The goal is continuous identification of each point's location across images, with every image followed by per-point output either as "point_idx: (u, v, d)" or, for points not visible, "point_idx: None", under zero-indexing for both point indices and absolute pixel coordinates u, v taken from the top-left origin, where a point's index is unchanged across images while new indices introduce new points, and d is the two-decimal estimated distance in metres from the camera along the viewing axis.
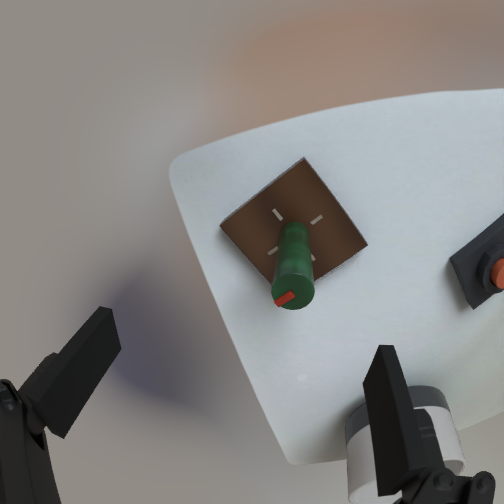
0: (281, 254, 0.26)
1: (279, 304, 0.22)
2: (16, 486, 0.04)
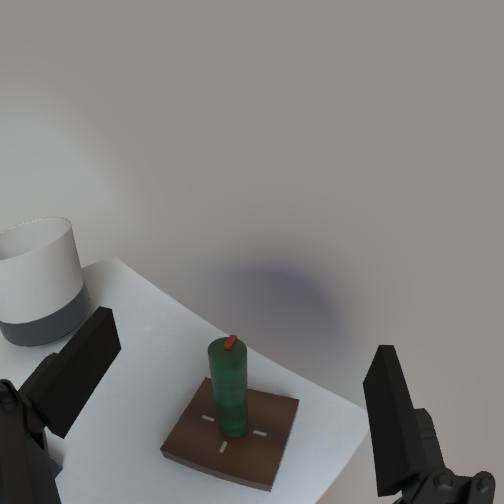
0: (246, 385, 0.25)
1: (231, 336, 0.25)
2: (16, 486, 0.04)
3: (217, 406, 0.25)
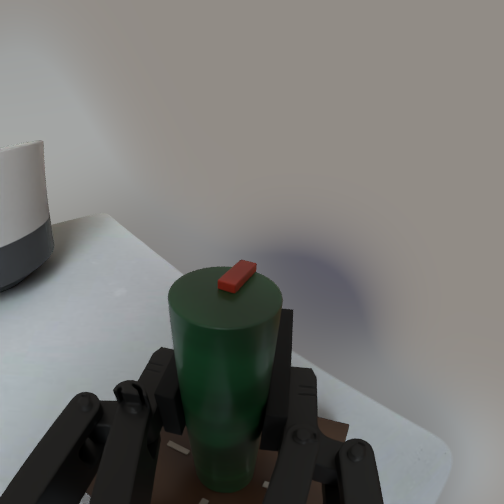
0: (266, 400, 0.10)
1: (242, 263, 0.09)
2: (109, 497, 0.05)
3: (190, 438, 0.10)
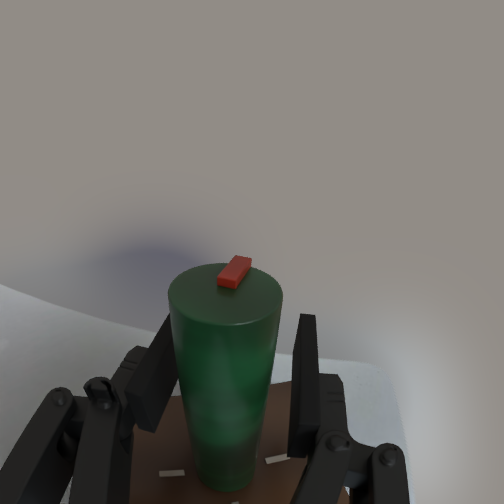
0: None
1: (237, 258, 0.09)
2: (87, 492, 0.05)
3: (193, 440, 0.10)
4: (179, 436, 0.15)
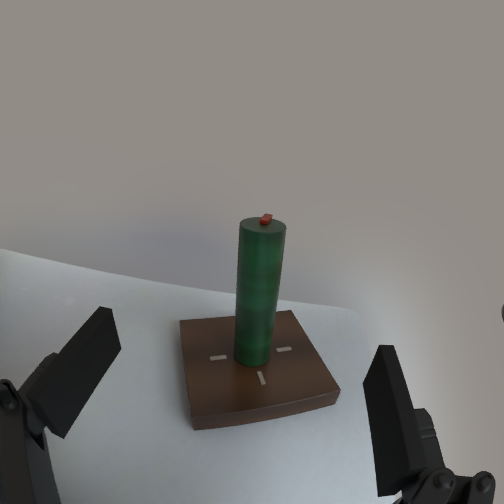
0: (279, 280, 0.22)
1: (266, 214, 0.22)
2: (16, 486, 0.04)
3: (240, 313, 0.22)
4: (221, 338, 0.27)
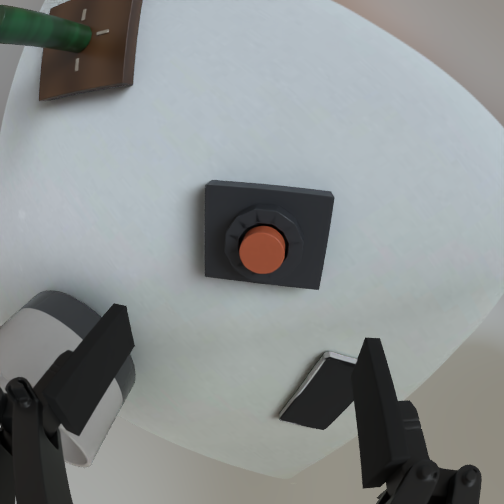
0: (36, 11, 0.13)
1: None
2: (28, 486, 0.05)
3: (50, 42, 0.16)
4: (60, 63, 0.22)
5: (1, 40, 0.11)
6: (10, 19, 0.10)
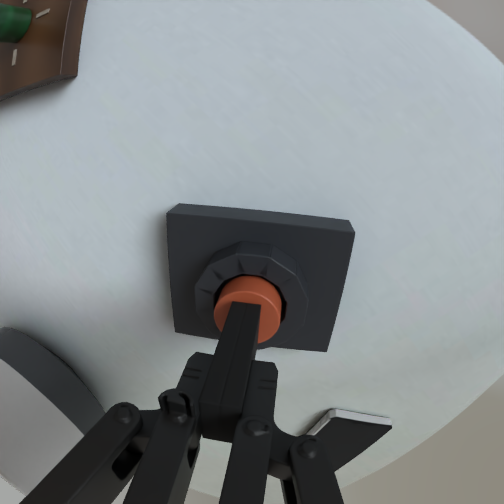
0: None
1: None
2: None
3: None
4: None
5: None
6: None
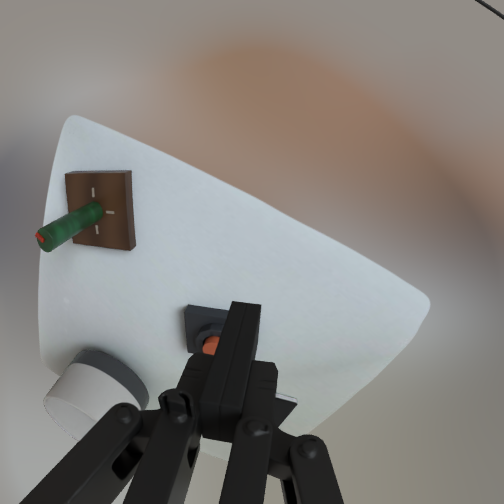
0: (66, 219, 0.34)
1: (36, 236, 0.30)
2: None
3: (79, 232, 0.37)
4: None
5: None
6: (56, 241, 0.31)
